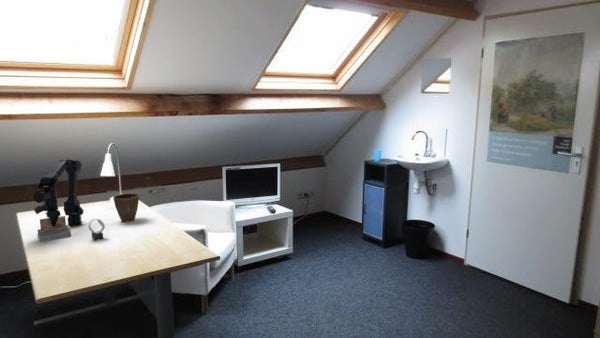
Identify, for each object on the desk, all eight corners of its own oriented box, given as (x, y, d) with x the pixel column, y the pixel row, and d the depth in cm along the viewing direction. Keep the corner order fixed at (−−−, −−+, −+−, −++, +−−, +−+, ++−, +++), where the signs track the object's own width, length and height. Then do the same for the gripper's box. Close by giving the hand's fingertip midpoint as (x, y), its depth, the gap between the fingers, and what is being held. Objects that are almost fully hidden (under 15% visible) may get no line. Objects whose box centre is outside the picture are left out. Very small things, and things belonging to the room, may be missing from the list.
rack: (38, 234, 230) (37, 227, 229) (68, 229, 239) (67, 223, 238) (40, 241, 218) (39, 234, 217) (72, 236, 227) (71, 229, 226)
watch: (107, 237, 224) (105, 218, 222) (91, 241, 219) (89, 221, 217) (103, 235, 228) (102, 216, 226) (88, 238, 223) (86, 219, 221)
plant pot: (134, 224, 250) (132, 198, 247) (110, 224, 250) (108, 198, 248) (144, 217, 265) (142, 193, 262) (121, 217, 265) (119, 193, 262)
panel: (65, 226, 232) (64, 215, 231) (66, 227, 230) (65, 216, 229) (40, 229, 225) (39, 219, 224) (41, 230, 223) (40, 220, 222)
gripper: (32, 197, 228) (35, 224, 230) (34, 203, 213) (37, 232, 215) (55, 194, 234) (57, 221, 237) (59, 200, 219) (61, 228, 222)
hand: (53, 225), depth 227 cm, fingers closed on panel, 2 cm apart
